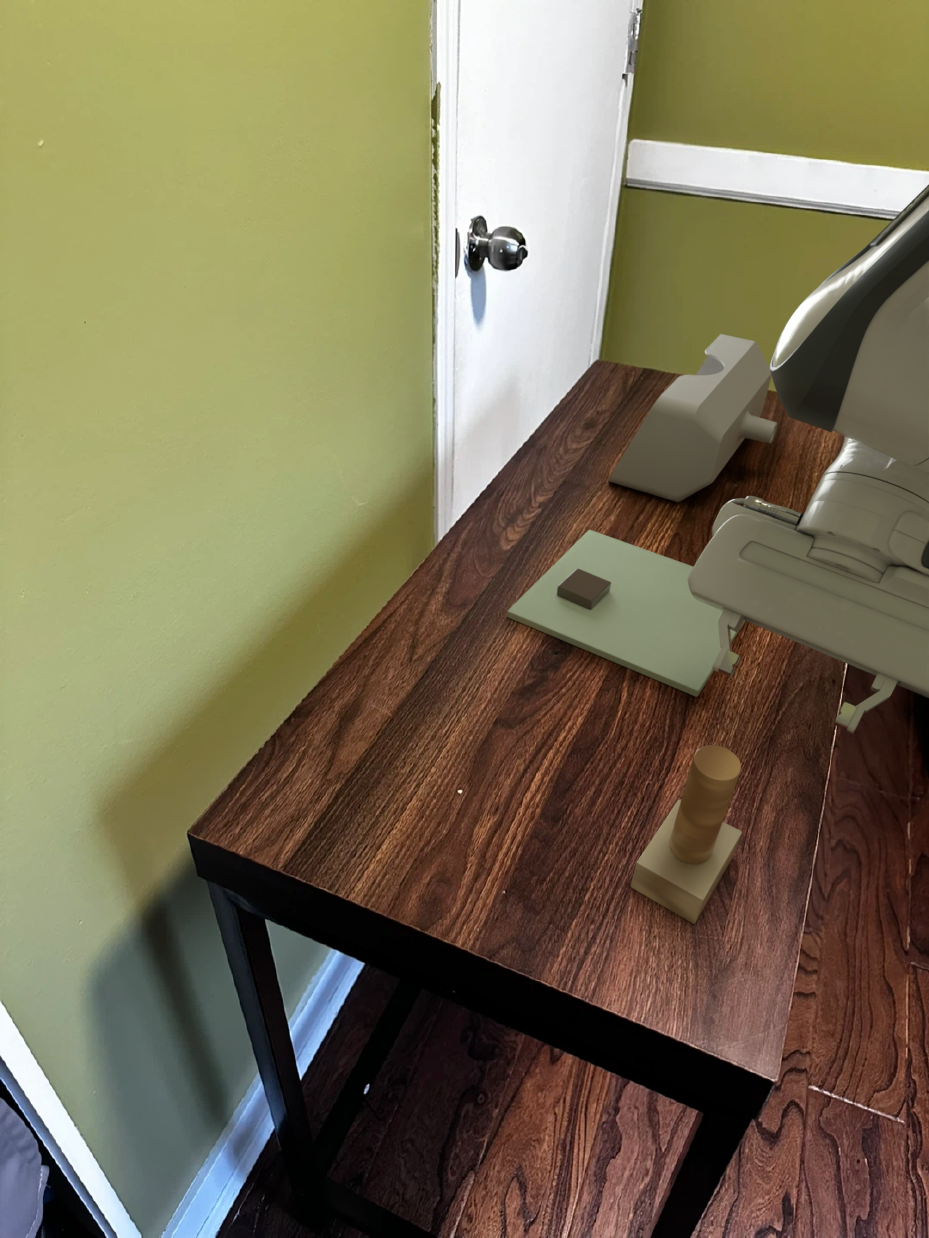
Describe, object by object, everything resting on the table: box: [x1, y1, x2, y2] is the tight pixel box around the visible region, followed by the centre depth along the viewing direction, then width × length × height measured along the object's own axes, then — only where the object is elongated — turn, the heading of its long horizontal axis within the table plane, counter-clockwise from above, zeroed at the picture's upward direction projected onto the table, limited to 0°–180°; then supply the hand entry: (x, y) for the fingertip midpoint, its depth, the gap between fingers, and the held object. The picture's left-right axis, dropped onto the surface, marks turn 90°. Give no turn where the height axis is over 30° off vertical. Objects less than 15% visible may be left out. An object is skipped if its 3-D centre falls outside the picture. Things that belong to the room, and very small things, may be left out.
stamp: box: [630, 744, 743, 925], centre depth 59 cm, size 5×7×12 cm
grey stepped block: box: [607, 333, 779, 503], centre depth 107 cm, size 25×16×12 cm, turn 150°
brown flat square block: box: [557, 568, 611, 610], centre depth 87 cm, size 4×4×1 cm
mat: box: [506, 529, 746, 698], centre depth 87 cm, size 20×18×1 cm
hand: (780, 700), depth 64 cm, fingers open, 8 cm apart
